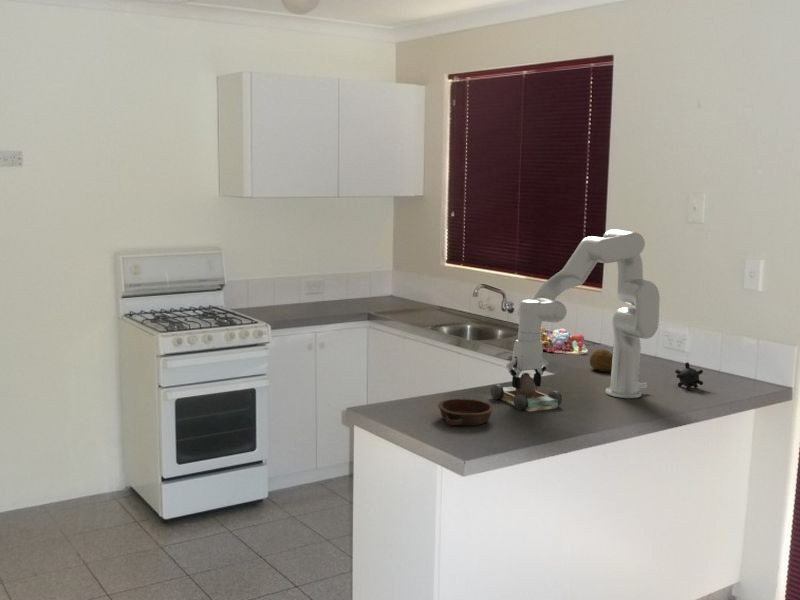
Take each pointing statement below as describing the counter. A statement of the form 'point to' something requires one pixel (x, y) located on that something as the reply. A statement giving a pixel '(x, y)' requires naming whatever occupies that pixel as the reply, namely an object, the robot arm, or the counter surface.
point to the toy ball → (689, 377)
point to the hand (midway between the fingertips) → (526, 386)
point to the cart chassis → (523, 402)
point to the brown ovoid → (526, 386)
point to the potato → (601, 360)
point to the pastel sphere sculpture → (563, 342)
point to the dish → (465, 411)
